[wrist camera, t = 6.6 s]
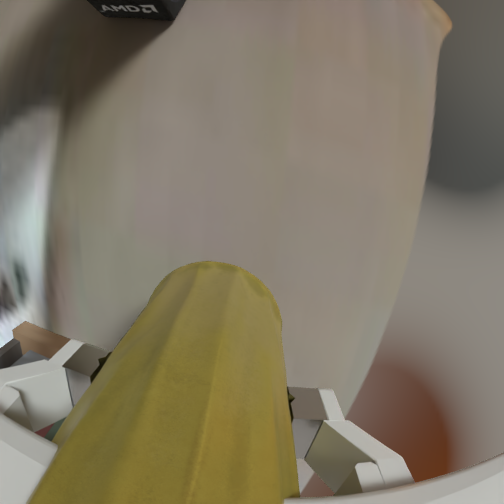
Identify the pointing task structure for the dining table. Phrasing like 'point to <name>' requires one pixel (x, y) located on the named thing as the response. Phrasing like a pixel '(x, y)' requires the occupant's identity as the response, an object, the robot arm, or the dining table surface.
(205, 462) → the vase
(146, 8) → the graphics card box
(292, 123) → the dining table surface
